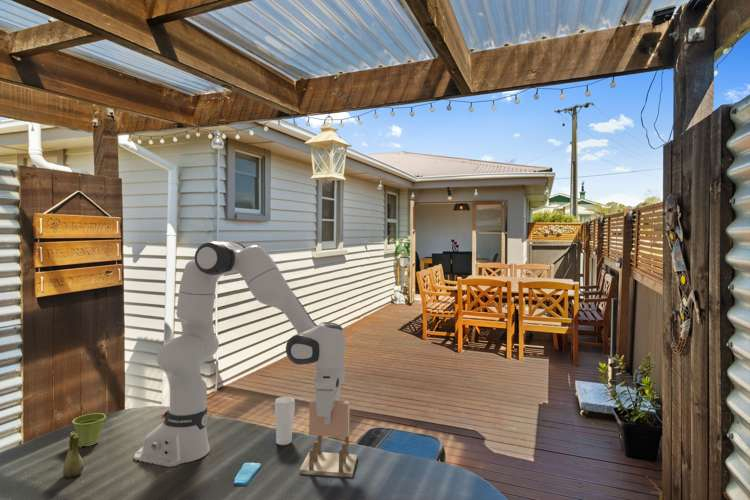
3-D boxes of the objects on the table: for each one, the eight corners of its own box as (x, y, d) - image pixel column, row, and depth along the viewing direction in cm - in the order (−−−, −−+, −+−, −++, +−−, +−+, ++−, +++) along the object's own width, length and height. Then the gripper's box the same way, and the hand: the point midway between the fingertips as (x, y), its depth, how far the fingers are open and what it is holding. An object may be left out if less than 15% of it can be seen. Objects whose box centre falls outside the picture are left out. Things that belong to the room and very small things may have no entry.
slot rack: (299, 473, 124) (300, 449, 124) (309, 455, 136) (309, 433, 136) (352, 477, 123) (352, 452, 123) (357, 458, 135) (357, 435, 135)
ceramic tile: (308, 434, 126) (309, 401, 127) (310, 431, 129) (311, 399, 129) (347, 437, 125) (348, 403, 126) (349, 433, 128) (349, 401, 128)
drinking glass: (289, 447, 141) (290, 403, 141) (270, 445, 142) (271, 401, 143) (296, 439, 148) (297, 397, 148) (279, 437, 149) (280, 395, 149)
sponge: (226, 482, 117) (246, 481, 117) (244, 462, 129) (262, 461, 129) (226, 487, 117) (246, 487, 117) (244, 467, 129) (262, 466, 129)
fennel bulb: (66, 471, 123) (68, 430, 123) (86, 468, 124) (88, 428, 125) (59, 481, 117) (61, 438, 117) (80, 478, 119) (82, 436, 119)
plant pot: (110, 442, 142) (111, 417, 142) (79, 452, 134) (80, 426, 134) (97, 435, 147) (98, 411, 147) (66, 445, 139) (67, 419, 139)
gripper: (326, 366, 138) (325, 408, 138) (312, 384, 118) (311, 433, 117) (345, 367, 138) (344, 409, 137) (334, 385, 117) (333, 435, 117)
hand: (329, 420), depth 127 cm, fingers closed on ceramic tile, 2 cm apart
